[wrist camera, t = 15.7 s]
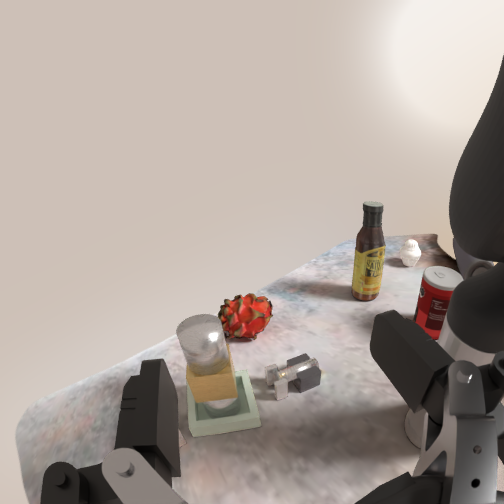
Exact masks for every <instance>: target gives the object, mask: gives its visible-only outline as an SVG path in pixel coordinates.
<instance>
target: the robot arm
mask: <svg viewBox="0 0 504 504" xmlns="http://www.w3.org/2000/svg"><path fill="white" fill-rule="evenodd" d="M449 217H450V225H451V229H452V233H453V235H454V238H455V240H456V242H457V243H458V245H459V246H460V248H461V249H462V250H463V251H465V252H466V253H467V254H469V255H471V256H473V257H475V258H477V259H480V260H485V261H492V262H498V263H497V264H496V265H495V266H493V267H492V268H490V269H489V270H487V271H485V272H483V273H480V274H477V275H475V276H472V277H469V278H467V279H465V280H463V281H462V282H460V283H459V284H458V285H457V286H456V288H455V289H454V291H453V293H452V296H451V299H450V302H449V306H448V309H447V313H446V316H445V320H444V323H443V326H442V329H441V332H440V336H439V339H438V341H437V342H436V341H435V340H434V339H432V337H431V336H430V335H429V334H428V333H426V332H425V330H424V329H423V328H422V327H420V326H419V325H418V324H417V323H415V322H413V321H411V320H409V319H407V318H406V319H404V318H403V317H402V316H401V315H400V314H399V313H398V312H397V311H395V310H391V311H387V312H384V313H381V314H378V315H376V317H375V319H374V325H373V331H372V336H371V341H370V351H371V355H372V357H373V359H374V360H375V361H376V363H377V364H378V365H379V367H380V368H381V369H382V371H383V372H384V373H385V375H386V376H387V377H388V379H389V380H390V381H391V383H392V384H393V385H394V387H395V388H396V389H397V391H398V392H399V393H400V395H401V396H402V397H403V399H404V400H405V402H406V403H407V404H408V406H409V407H410V409H409V411H408V413H407V415H406V418H405V431H406V434H407V436H408V438H409V439H410V441H411V442H412V443H413V444H414V445H416V446H417V447H418V448H421V453H420V457H419V460H418V462H417V465H416V467H415V469H414V472H413V476H412V477H411V475H410V474H409V472H406V473H404V474H402V475H401V476H399V477H397V478H395V479H393V480H391V481H389V482H386V483H384V484H382V485H380V486H379V487H377V488H376V489H375V490H373V491H372V492H370V493H369V494H368V495H366V496H365V497H363V498H362V499H361V500H359V501H358V502H356V503H355V504H504V492H502V491H497V468H498V456H499V458H500V459H501V461H502V462H503V464H504V406H503V405H502V403H501V400H502V399H503V397H504V56H503V60H502V64H501V67H500V71H499V75H498V78H497V80H496V83H495V86H494V88H493V91H492V93H491V96H490V99H489V101H488V103H487V105H486V107H485V109H484V112H483V114H482V116H481V118H480V120H479V122H478V124H477V126H476V128H475V130H474V132H473V134H472V136H471V137H470V139H469V141H468V144H467V146H466V147H465V150H464V152H463V154H462V156H461V158H460V160H459V163H458V166H457V169H456V172H455V175H454V179H453V183H452V188H451V194H450V202H449ZM120 408H121V411H120V414H119V421H118V428H117V435H116V443H115V448H114V450H113V451H111V452H110V453H109V454H108V455H107V456H106V457H105V458H104V460H103V462H102V463H100V464H97V465H93V466H89V467H85V468H80V469H76V468H75V467H73V466H72V465H71V464H69V463H66V462H56V463H54V464H52V465H50V466H49V467H48V468H47V470H46V471H45V474H44V477H43V485H42V493H41V503H40V504H188V503H187V502H186V501H185V500H183V499H182V498H181V497H180V496H179V495H178V494H177V493H176V492H175V491H174V490H173V489H172V477H181V470H180V454H179V430H178V399H177V393H176V389H175V386H174V383H173V381H172V378H171V376H170V373H169V371H168V368H167V366H166V363H165V361H164V359H153V360H144V361H142V364H141V370H140V375H137V376H131V377H130V379H129V380H128V382H127V383H126V385H125V386H124V390H123V395H122V401H121V407H120Z"/></svg>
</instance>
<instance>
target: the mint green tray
mask: <svg viewBox="0 0 504 504" xmlns="http://www.w3.org/2000/svg"><path fill="white" fill-rule="evenodd" d="M235 378H236V385H237V391H238V395H239V399H240V403H241V408H240V411H239V412H238V414H237V415H235V416H229V417H223V418H216V419H212V418H211V417H209V416H208V415H207V413H206V411H205V409H204V406H203V404H202V402H199V403H196V401H195V399H194V397H193V394H192V392H191V389H190V387H189V384H188V382H187V406H188V425H189V430H190V432H191V434H192V436H193V437H199V436H207V435H215V434H222V433H228V432H235V431H240V430H246V429H251V428H256V427H261V421H260V415H259V412H258V408H257V405H256V401H255V397H254V394H253V390H252V386H251V382H250V379H249V375H248V371H247V370H242V371H236V372H235ZM186 381H187V379H186Z"/></svg>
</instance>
